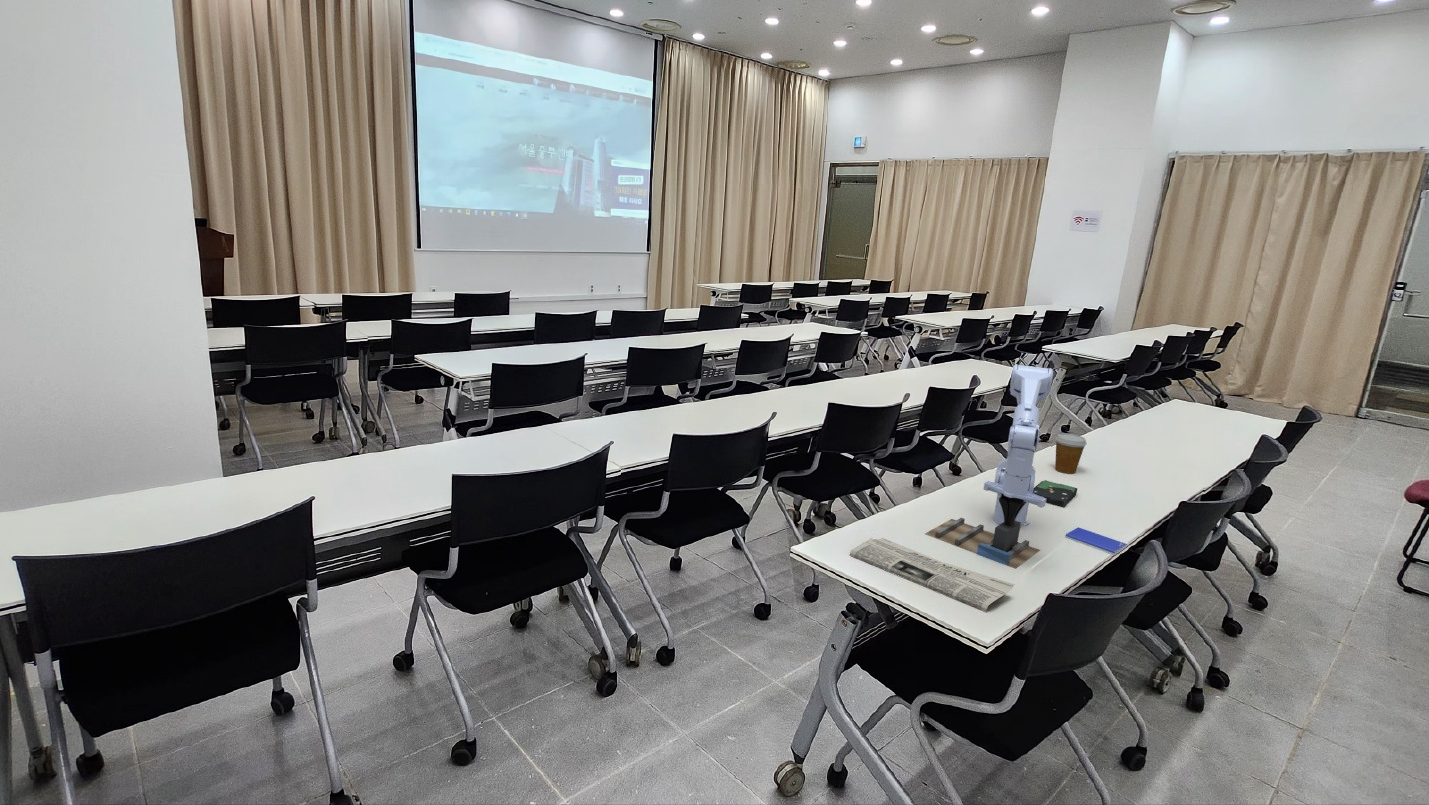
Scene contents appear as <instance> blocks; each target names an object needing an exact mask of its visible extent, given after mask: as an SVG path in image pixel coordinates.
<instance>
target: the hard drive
mask: <svg viewBox="0 0 1429 805" xmlns="http://www.w3.org/2000/svg"><path fill="white" fill-rule="evenodd" d="M1064 538H1066V539H1068V540H1071V541H1073V542H1076V543H1079V544H1082V545H1085V546H1087V547H1090V548H1093V549H1096V550H1098V551H1101V552H1104V553H1107V554H1110V555H1111V556H1115V555H1117V554H1118V553H1120V552H1122V551H1123V550H1124V549H1126V548H1127V547H1128V544H1127V543H1125V542H1123V541H1122V542H1121V541H1119V540H1117V539H1114V538H1112V537H1107V536H1104V535H1102V534H1099V533H1096V532H1093V531H1091V530H1087V529H1085V528H1081V527H1079V526H1077V527H1076V528H1074V529H1072V530H1071V531H1069V532H1067V533H1066V534H1065V535H1064Z"/></svg>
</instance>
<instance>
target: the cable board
mask: <svg viewBox="0 0 1429 805" xmlns="http://www.w3.org/2000/svg"><path fill="white" fill-rule="evenodd" d="M984 528H985V525H984V524H978V525H977V526H973V525H970V524H968V523H965V518H963V517H959V518H958V519H957V520H956V519H953V518H950V519H949V520H947V521H945V522H944V523H942V524H940V525H938V526H936V527H933V529H931V530H929V531H927V532H925V533H924V535H926V536H928V537H931V538H934V539H935V540H939V541H941V542H944V543H946V544H950V545H951V546H955V547H957V548H960V549H962V550H965V551H969V552H971V553H973V554H976V555H978V556H982V557H983V558H987V559H989V560H992V561H994V562H997V563H1000V564H1002V565H1005V566H1007V567H1010V568H1013V569H1017V568H1019V567H1020V566H1022V565H1023V564H1024V563H1025V562H1027V561H1028V560H1029V559H1031V558H1032V557H1034V556H1035V555H1036V554H1037V553H1039V552H1040V551H1041V549H1038V548H1036V547H1032V546H1031V545H1030V540H1027V539H1024V540H1023V541H1022V542H1019V541H1018V543H1017V545H1015V546H1013V549H1012V550H1010V551H1009V552H1008V553H1007V552H1005V551H1002V550H999V549H997V548H994V547H992V545H993V539H994V533H995V532H994V533H993V532H990V531H988V530H985V529H984Z"/></svg>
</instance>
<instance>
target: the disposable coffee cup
mask: <svg viewBox="0 0 1429 805" xmlns="http://www.w3.org/2000/svg"><path fill="white" fill-rule="evenodd" d="M1086 441H1087V440H1086V438H1085V437H1083V436H1080V435H1079V434H1077V435H1076V434H1073V433H1066V432H1065V433H1059V434H1057V436H1056V437H1055V442H1056V443H1055V464H1054V469H1055V471H1057V472H1060V473H1063V474H1067V475H1068V474H1069V475H1073V474H1076V472H1077V468H1078V466H1079V463H1080V460H1081V457H1082V455H1083V451H1084V449H1085V447H1086V445H1087V442H1086Z"/></svg>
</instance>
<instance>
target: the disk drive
mask: <svg viewBox="0 0 1429 805" xmlns="http://www.w3.org/2000/svg"><path fill="white" fill-rule="evenodd" d="M1077 493H1078V488H1077V487H1074V486H1070V485H1066V484H1062V483H1057V482H1053V481H1049V480H1047V479H1044V480H1040V482H1039V483H1037V485H1035V486H1034V488H1033V494H1036V495H1038V496H1040V497H1043V498H1046V504H1048V505H1052V506H1056V507H1059V508H1063V509H1064V508H1065V507H1067V505H1068V504H1069V503H1070V502H1071V501H1072V500H1073V498H1075V497H1076V495H1077Z"/></svg>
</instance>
